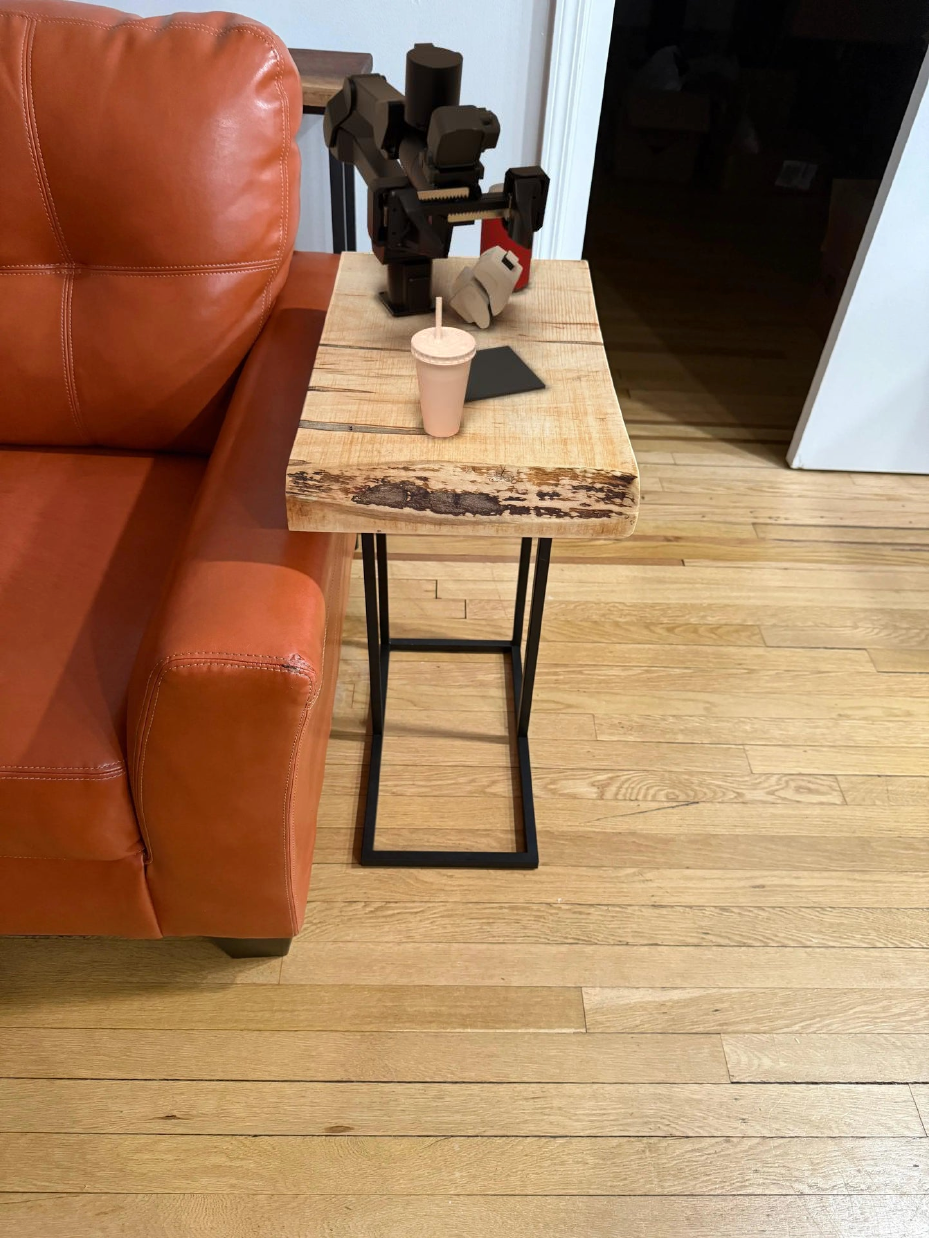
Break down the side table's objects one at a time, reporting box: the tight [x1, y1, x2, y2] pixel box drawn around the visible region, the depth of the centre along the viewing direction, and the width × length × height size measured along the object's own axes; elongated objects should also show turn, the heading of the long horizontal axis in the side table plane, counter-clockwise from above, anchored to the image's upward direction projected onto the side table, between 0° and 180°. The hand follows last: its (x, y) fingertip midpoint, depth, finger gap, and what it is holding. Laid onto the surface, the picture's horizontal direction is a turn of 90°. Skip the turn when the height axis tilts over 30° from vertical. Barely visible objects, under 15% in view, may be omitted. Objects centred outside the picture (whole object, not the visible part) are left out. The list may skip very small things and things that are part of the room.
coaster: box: [464, 345, 546, 403], centre depth 104 cm, size 10×10×1 cm
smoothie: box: [410, 296, 477, 438], centre depth 91 cm, size 6×6×14 cm
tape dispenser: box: [449, 246, 523, 329], centre depth 112 cm, size 6×7×10 cm
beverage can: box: [479, 182, 534, 292], centre depth 119 cm, size 7×7×12 cm
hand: (486, 249), depth 89 cm, fingers open, 9 cm apart
